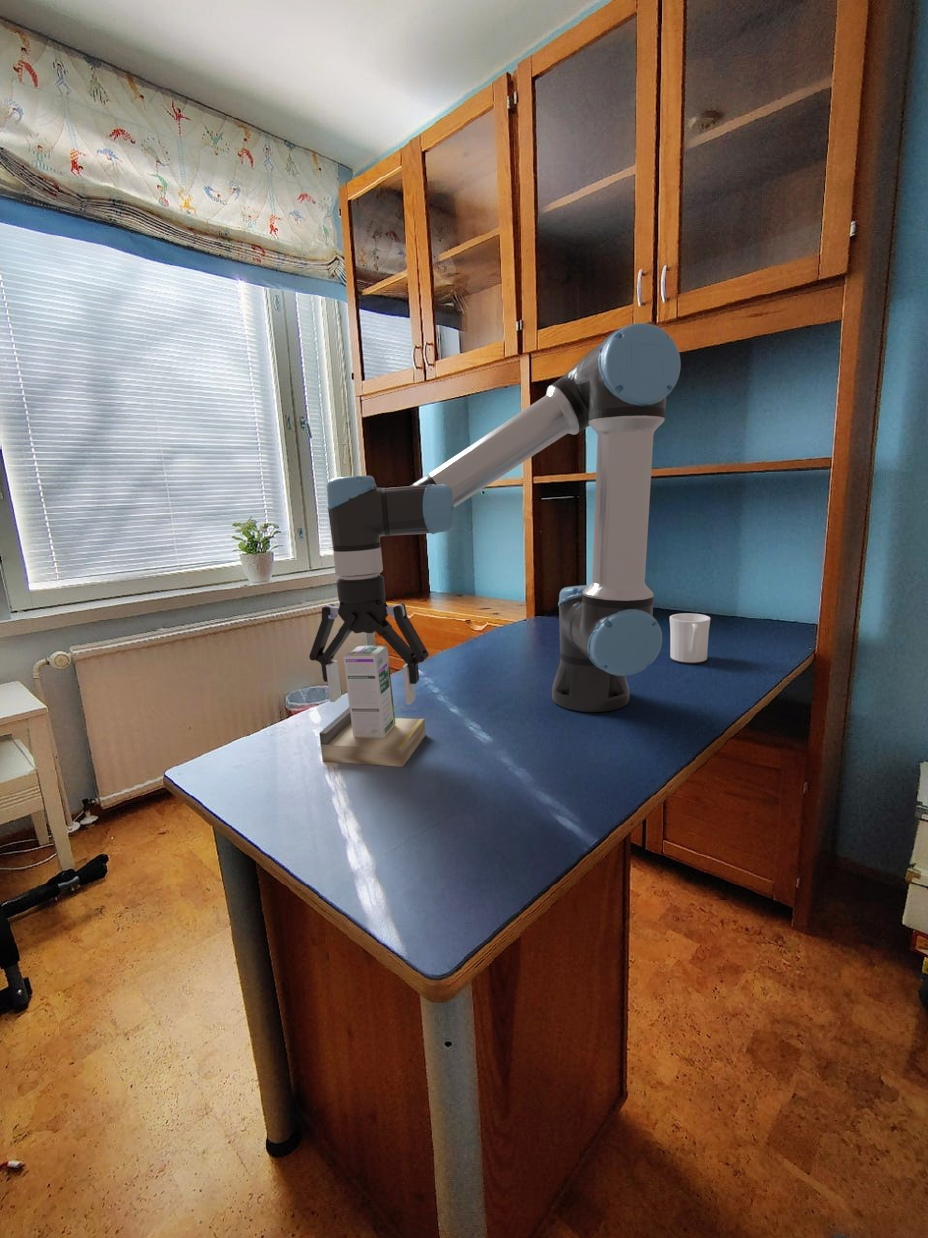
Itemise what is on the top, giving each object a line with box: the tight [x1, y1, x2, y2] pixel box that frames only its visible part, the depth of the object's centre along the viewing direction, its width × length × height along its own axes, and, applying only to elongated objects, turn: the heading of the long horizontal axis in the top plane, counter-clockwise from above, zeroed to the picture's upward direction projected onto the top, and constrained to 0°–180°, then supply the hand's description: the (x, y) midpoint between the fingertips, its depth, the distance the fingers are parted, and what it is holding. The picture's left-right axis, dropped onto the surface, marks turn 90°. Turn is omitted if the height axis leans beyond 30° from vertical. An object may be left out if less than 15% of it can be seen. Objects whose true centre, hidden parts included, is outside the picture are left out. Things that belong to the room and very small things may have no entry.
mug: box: [669, 612, 711, 666], centre depth 134 cm, size 11×9×10 cm
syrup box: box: [343, 644, 396, 739], centre depth 96 cm, size 6×6×14 cm
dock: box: [319, 706, 427, 768], centre depth 98 cm, size 14×12×5 cm
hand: (372, 700), depth 96 cm, fingers open, 13 cm apart
